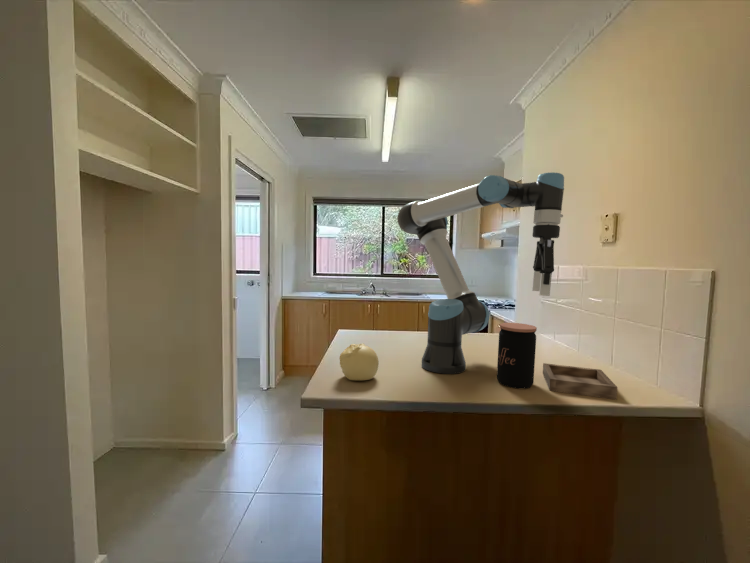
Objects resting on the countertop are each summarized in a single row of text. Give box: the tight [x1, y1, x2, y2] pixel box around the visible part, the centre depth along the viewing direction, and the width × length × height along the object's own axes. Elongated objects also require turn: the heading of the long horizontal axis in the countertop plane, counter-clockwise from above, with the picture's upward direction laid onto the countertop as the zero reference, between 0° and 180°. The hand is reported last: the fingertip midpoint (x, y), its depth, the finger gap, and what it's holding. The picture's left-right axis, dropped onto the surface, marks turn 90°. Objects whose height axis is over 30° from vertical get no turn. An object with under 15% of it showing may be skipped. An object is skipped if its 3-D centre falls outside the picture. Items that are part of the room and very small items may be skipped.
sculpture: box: [339, 343, 379, 381], centre depth 111 cm, size 12×12×11 cm
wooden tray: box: [542, 362, 618, 400], centre depth 111 cm, size 17×17×4 cm
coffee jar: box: [496, 322, 538, 389], centre depth 110 cm, size 11×11×18 cm
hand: (540, 293), depth 112 cm, fingers open, 13 cm apart
